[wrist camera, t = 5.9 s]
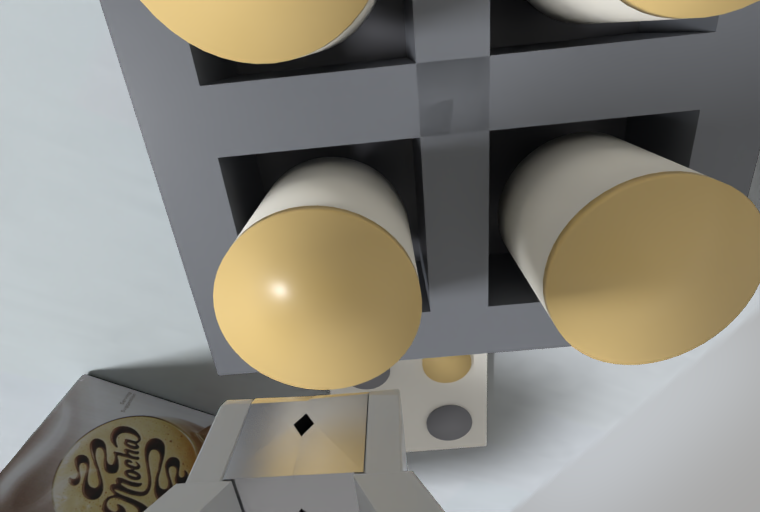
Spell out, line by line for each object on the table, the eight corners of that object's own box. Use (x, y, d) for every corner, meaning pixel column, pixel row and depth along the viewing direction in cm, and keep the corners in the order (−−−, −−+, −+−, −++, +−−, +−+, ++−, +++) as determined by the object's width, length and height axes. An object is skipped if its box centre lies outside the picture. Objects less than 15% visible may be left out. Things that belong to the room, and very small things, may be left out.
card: (342, 451, 26) (341, 459, 25) (320, 334, 22) (319, 341, 22) (485, 440, 26) (487, 448, 25) (485, 319, 22) (487, 326, 22)
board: (251, 304, 22) (218, 375, 17) (120, -205, 14) (-3, -321, 9) (638, 270, 21) (711, 334, 16) (731, -283, 13) (916, -447, 9)
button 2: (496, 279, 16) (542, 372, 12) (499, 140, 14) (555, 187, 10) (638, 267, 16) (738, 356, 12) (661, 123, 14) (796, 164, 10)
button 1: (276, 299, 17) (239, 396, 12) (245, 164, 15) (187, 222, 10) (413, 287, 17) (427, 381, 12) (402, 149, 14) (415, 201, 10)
